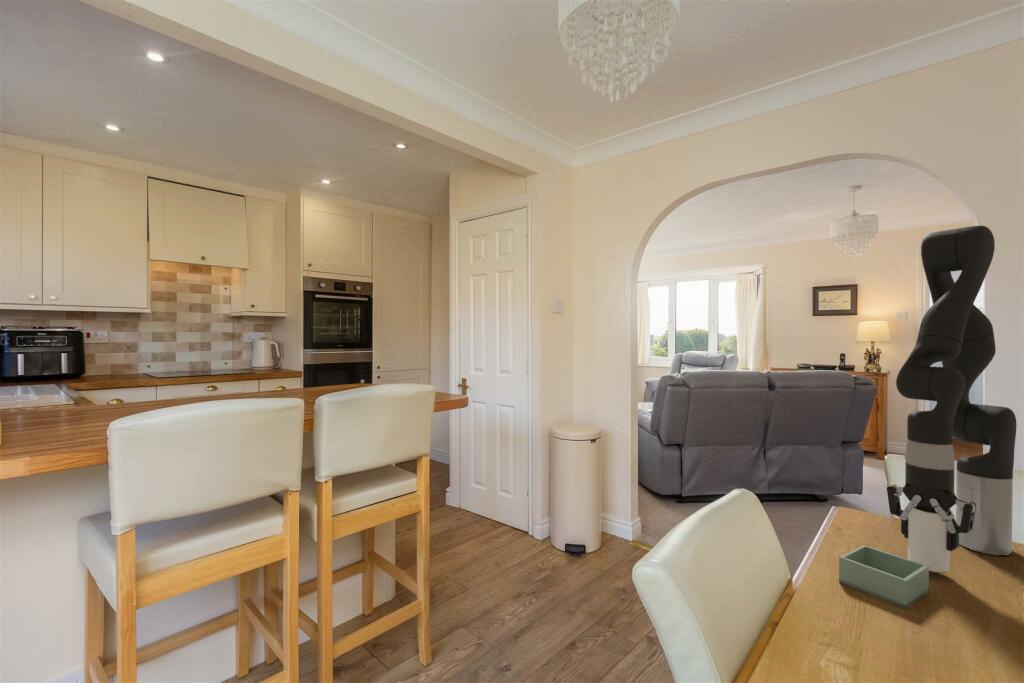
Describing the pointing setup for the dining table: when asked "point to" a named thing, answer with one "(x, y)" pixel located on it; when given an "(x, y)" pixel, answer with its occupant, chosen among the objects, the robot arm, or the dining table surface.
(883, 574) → the bin
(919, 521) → the can
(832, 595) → the dining table surface
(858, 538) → the dining table surface
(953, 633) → the dining table surface
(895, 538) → the dining table surface
